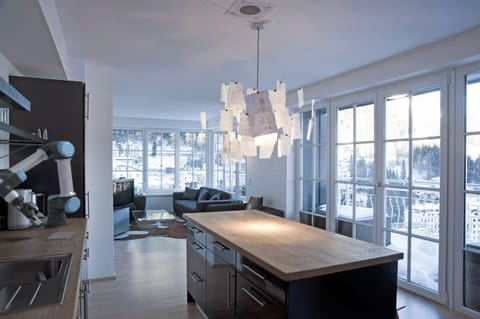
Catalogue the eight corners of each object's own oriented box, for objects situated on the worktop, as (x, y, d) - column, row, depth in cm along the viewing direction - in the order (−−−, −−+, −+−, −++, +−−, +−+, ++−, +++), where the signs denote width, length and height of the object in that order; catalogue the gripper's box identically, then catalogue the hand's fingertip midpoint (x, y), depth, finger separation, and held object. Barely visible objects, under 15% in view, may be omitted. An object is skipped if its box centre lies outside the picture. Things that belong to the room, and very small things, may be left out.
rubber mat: (54, 233, 227) (54, 232, 227) (75, 232, 231) (75, 231, 231) (45, 240, 208) (45, 239, 208) (68, 238, 211) (68, 238, 211)
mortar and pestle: (50, 226, 220) (50, 208, 220) (41, 230, 211) (40, 211, 211) (34, 226, 221) (34, 208, 221) (24, 229, 212) (24, 211, 211)
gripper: (17, 200, 222) (43, 222, 227) (2, 205, 200) (32, 230, 205) (25, 192, 223) (52, 214, 228) (12, 196, 202) (41, 221, 206)
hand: (42, 222), depth 216 cm, fingers closed on mortar and pestle, 10 cm apart
